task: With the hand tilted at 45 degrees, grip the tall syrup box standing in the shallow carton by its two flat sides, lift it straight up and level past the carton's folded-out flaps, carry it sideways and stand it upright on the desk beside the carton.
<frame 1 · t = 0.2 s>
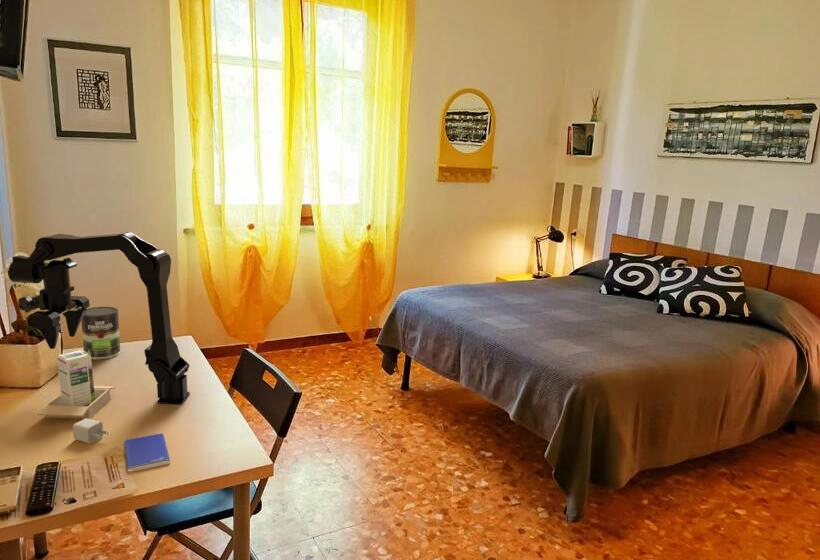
hand: (62, 342, 147), 14 cm above the table, tool pointing down, fingers open, 9 cm apart
coffee can: (102, 354, 178), on the table
syrup box: (79, 409, 142), resting in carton
hard drive: (146, 456, 124), on the table
usb wall charger: (93, 440, 128), on the table
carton: (79, 408, 142), on the table
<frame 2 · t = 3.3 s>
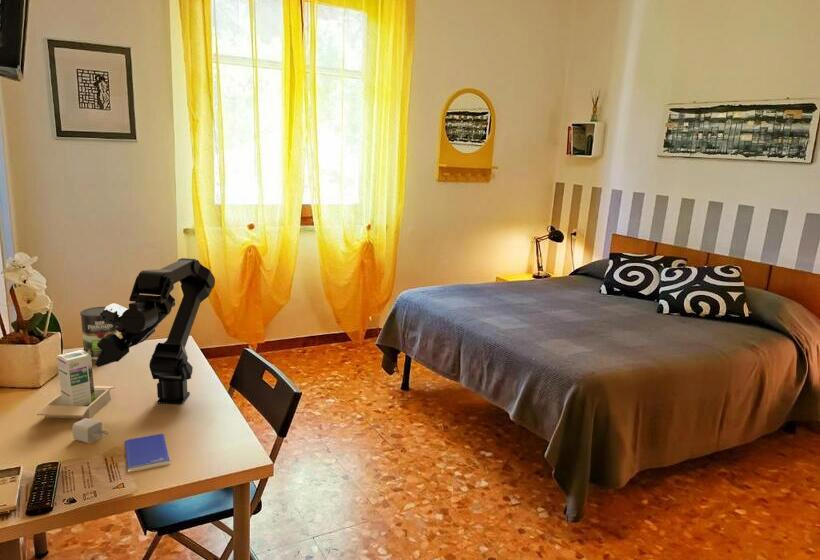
hand: (106, 358, 140), 14 cm above the table, tool tilted 45°, fingers open, 9 cm apart
nothing on the table moved.
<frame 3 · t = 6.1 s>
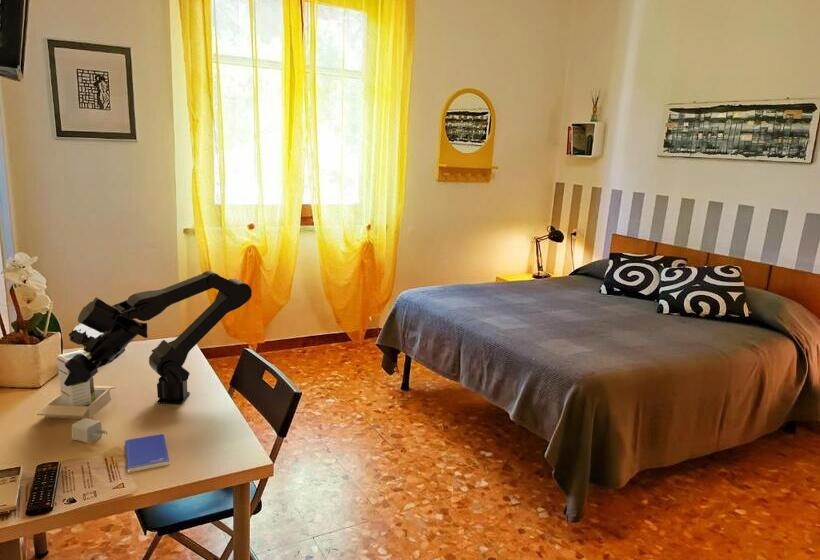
hand: (74, 378, 140), 8 cm above the table, tool tilted 45°, fingers closed on syrup box, 8 cm apart
syrup box: (79, 408, 142), resting in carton, touching gripper
everything else where it was.
when the fingers open (9 cm above the table, at t = 11.2 s): syrup box drops 1 cm, on the table.
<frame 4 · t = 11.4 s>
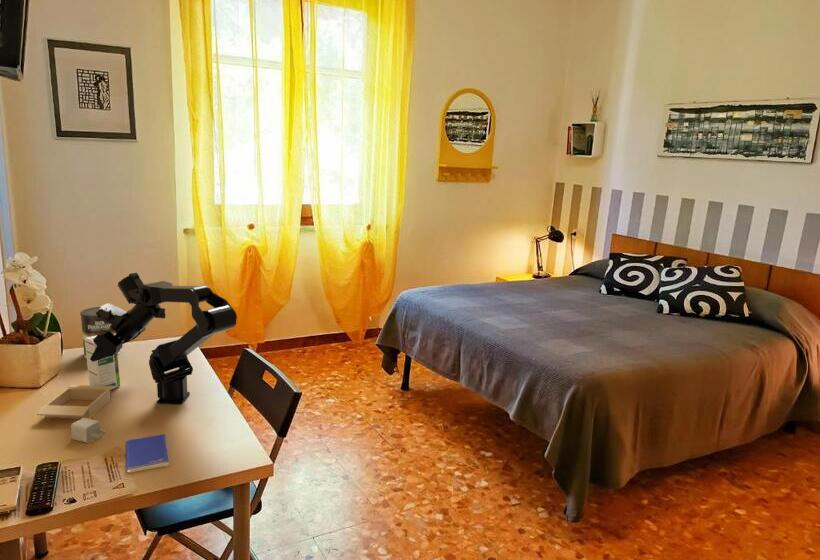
hand: (100, 354, 153), 10 cm above the table, tool tilted 45°, fingers open, 9 cm apart
syrup box: (104, 387, 155), on the table
everything else where it was.
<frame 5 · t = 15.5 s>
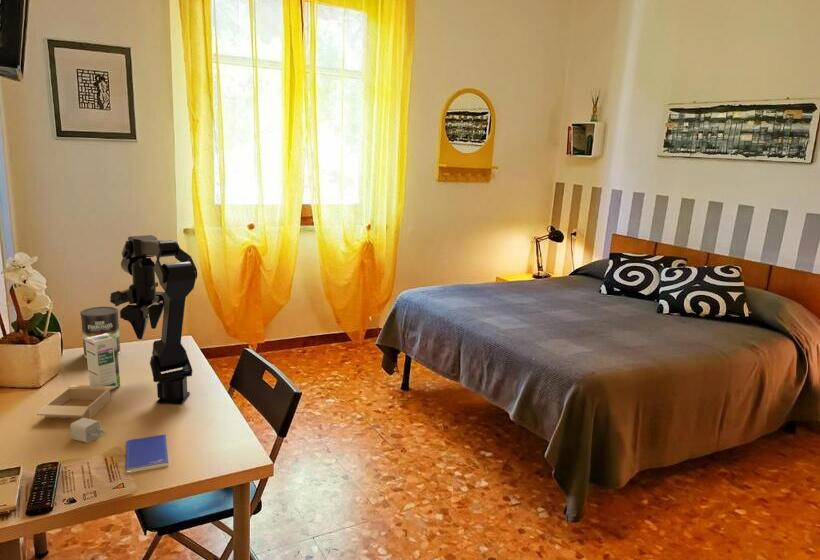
hand: (147, 333, 160), 13 cm above the table, tool pointing down, fingers open, 9 cm apart
nothing on the table moved.
at the end: syrup box inside the target area (0.2 cm from its centre), on the table; syrup box tilted 0°; syrup box touching table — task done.
